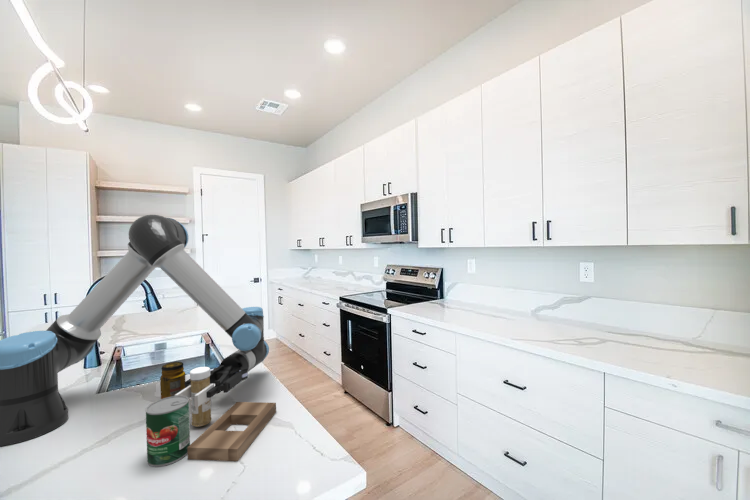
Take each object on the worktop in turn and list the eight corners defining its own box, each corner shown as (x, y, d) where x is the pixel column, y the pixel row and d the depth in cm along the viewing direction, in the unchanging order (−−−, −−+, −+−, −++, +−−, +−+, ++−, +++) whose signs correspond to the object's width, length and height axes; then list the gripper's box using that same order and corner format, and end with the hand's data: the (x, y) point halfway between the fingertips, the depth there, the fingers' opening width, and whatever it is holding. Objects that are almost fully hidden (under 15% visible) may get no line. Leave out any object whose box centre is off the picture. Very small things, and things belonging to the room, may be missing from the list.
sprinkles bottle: (212, 423, 81) (211, 370, 81) (191, 429, 79) (190, 374, 79) (210, 415, 85) (209, 364, 85) (190, 421, 83) (188, 368, 82)
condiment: (190, 399, 96) (188, 358, 96) (184, 412, 89) (182, 368, 88) (161, 404, 94) (160, 362, 94) (152, 418, 86) (151, 372, 86)
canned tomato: (142, 471, 65) (140, 416, 65) (151, 449, 72) (150, 400, 72) (188, 460, 68) (186, 407, 68) (192, 440, 76) (190, 392, 75)
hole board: (187, 459, 68) (187, 447, 68) (237, 411, 88) (236, 401, 88) (237, 461, 67) (237, 449, 67) (276, 411, 87) (275, 402, 87)
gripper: (265, 377, 99) (221, 417, 76) (211, 376, 101) (152, 415, 77) (264, 352, 99) (220, 385, 76) (210, 352, 101) (151, 384, 77)
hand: (186, 400), depth 77 cm, fingers closed on sprinkles bottle, 4 cm apart
